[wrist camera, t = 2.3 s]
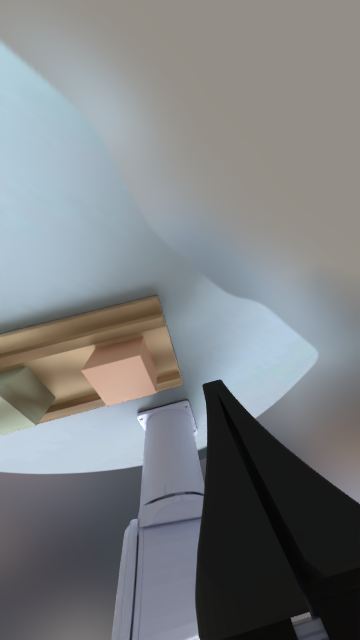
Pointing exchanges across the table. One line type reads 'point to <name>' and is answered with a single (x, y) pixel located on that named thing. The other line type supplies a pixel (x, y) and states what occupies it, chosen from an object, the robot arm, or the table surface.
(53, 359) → the oak channel board
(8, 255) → the table surface
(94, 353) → the peach pink cube
